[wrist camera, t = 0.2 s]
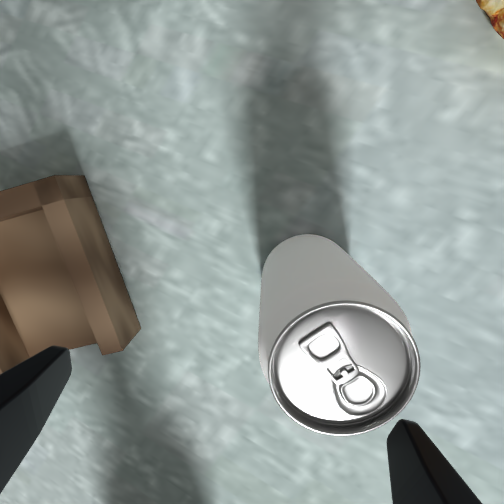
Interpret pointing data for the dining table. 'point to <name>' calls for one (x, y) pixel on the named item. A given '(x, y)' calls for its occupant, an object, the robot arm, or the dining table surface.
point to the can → (333, 340)
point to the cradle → (58, 273)
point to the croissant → (494, 13)
